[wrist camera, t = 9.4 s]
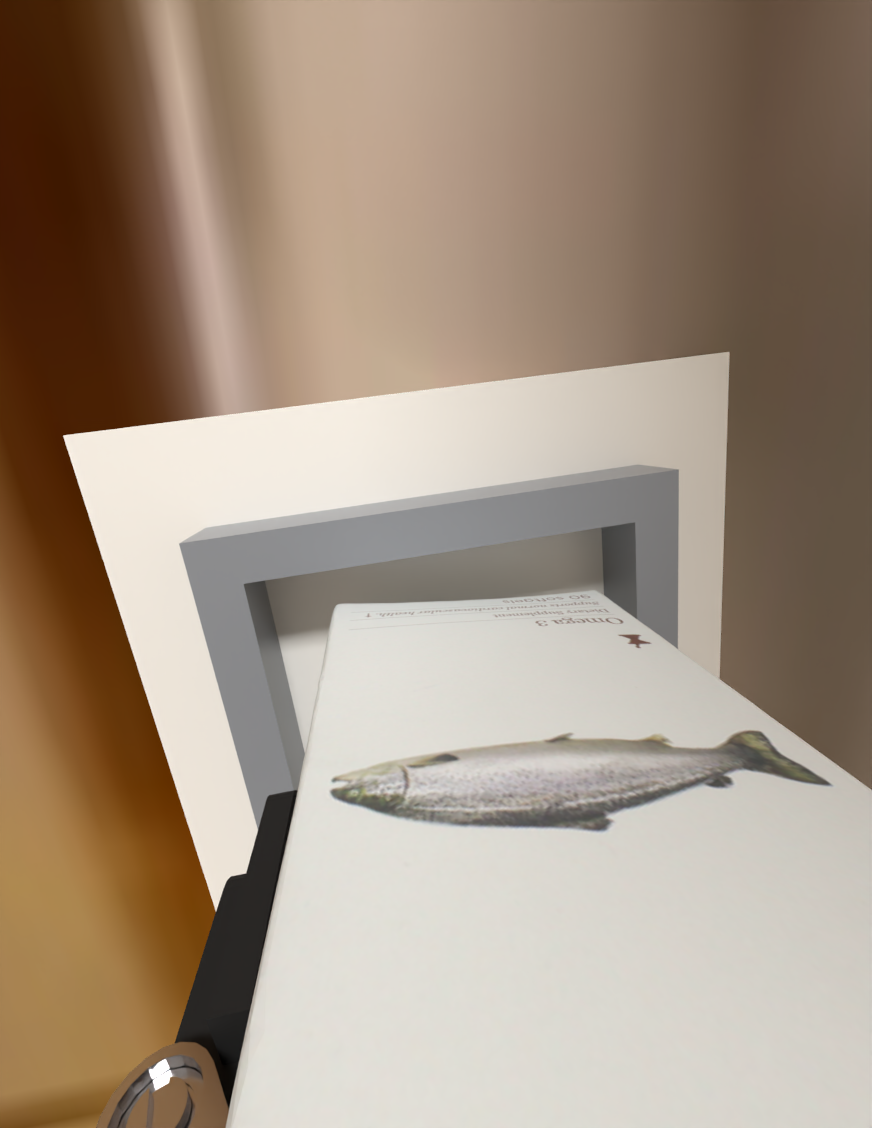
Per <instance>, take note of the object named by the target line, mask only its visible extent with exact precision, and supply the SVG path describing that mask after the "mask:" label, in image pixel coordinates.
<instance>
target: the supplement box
mask: <svg viewBox="0 0 872 1128" xmlns="http://www.w3.org/2000/svg"><path fill="white" fill-rule="evenodd" d="M226 1128H872V790H871V789H870V788H868V787H867V786H865V785H864V784H863V783H861V782H860V781H859V780H857V779H856V778H854V777H853V776H852V775H850V774H849V773H848V772H846V771H845V770H844V769H842V768H841V767H839V766H838V765H837V764H835V763H834V762H833V761H831V760H830V759H828V758H827V757H826V756H824V755H823V754H821V753H820V752H819V751H817V750H816V749H815V748H813V747H812V746H810V745H809V744H808V743H806V742H805V741H804V740H802V739H801V738H800V737H798V736H797V735H796V734H794V733H793V732H791V731H790V730H789V729H787V728H786V727H784V726H783V725H781V724H780V723H779V722H777V721H776V720H774V719H773V718H772V717H770V716H769V715H768V714H766V713H765V712H764V711H762V710H761V709H760V708H758V707H757V706H756V705H754V704H753V703H752V702H750V701H749V700H748V699H746V698H745V697H743V696H742V695H741V694H739V693H738V692H737V691H735V690H734V689H732V688H731V687H730V686H728V685H727V684H726V683H724V682H723V681H721V680H720V679H719V678H717V677H716V676H715V675H713V674H712V673H710V672H709V671H708V670H706V669H705V668H703V667H702V666H701V665H699V664H698V663H697V662H695V661H694V660H692V659H691V658H690V657H688V656H687V655H685V654H684V653H683V652H681V651H680V650H678V649H677V648H676V647H674V646H673V645H672V644H670V643H669V642H668V641H666V640H665V639H664V638H662V637H661V636H660V635H658V634H657V633H656V632H654V631H653V630H651V629H650V628H649V627H647V626H646V625H644V624H643V623H641V622H640V621H639V620H637V619H636V618H634V617H633V616H632V615H630V614H629V613H627V612H626V611H625V610H623V609H622V608H621V607H619V606H618V605H616V604H615V603H614V602H612V601H611V600H610V599H608V598H607V597H606V596H604V595H603V594H601V593H600V592H598V591H595V590H591V591H582V592H573V593H563V594H553V595H542V596H530V597H516V598H503V599H483V600H463V601H435V602H409V603H368V604H338V605H336V607H335V608H334V611H333V615H332V619H331V623H330V627H329V632H328V637H327V643H326V648H325V654H324V659H323V665H322V670H321V675H320V679H319V682H318V691H317V695H316V699H315V704H314V709H313V715H312V721H311V726H310V731H309V736H308V741H307V746H306V751H305V756H304V761H303V765H302V771H301V776H300V781H299V786H298V792H297V797H296V802H295V807H294V811H293V816H292V820H291V825H290V829H289V834H288V838H287V843H286V847H285V852H284V856H283V861H282V865H281V870H280V874H279V879H278V883H277V888H276V893H275V897H274V902H273V907H272V911H271V916H270V920H269V925H268V930H267V934H266V939H265V944H264V948H263V953H262V958H261V962H260V967H259V971H258V976H257V981H256V985H255V990H254V995H253V999H252V1004H251V1008H250V1013H249V1018H248V1022H247V1027H246V1032H245V1036H244V1041H243V1046H242V1050H241V1055H240V1060H239V1064H238V1069H237V1074H236V1078H235V1083H234V1088H233V1092H232V1097H231V1102H230V1108H229V1113H228V1118H227V1123H226Z"/></svg>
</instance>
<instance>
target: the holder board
mask: <svg viewBox="0 0 872 1128" xmlns="http://www.w3.org/2000/svg"><path fill="white" fill-rule="evenodd" d="M729 355H730V352H723V353H715V354H707V355H699V356H691V357H683V358H675V359H667V360H659V361H652V362H644V363H636V364H628V365H620V366H612V367H604V368H596V369H588V370H580V371H572V372H564V373H556V374H548V375H540V376H533V377H525V378H517V379H509V380H501V381H493V382H485V383H477V384H469V385H461V386H453V387H445V388H437V389H429V390H421V391H413V392H406V393H398V394H390V395H382V396H374V397H366V398H358V399H350V400H342V401H334V402H326V403H318V404H310V405H302V406H294V407H287V408H279V409H271V410H263V411H255V412H247V413H239V414H231V415H223V416H215V417H207V418H199V419H191V420H183V421H175V422H168V423H160V424H152V425H144V426H136V427H128V428H120V429H112V430H104V431H96V432H88V433H80V434H72V435H64V436H63V437H64V440H65V443H66V446H67V449H68V452H69V455H70V459H71V462H72V465H73V468H74V471H75V474H76V477H77V480H78V483H79V487H80V490H81V493H82V496H83V499H84V502H85V505H86V508H87V511H88V515H89V518H90V521H91V524H92V527H93V530H94V533H95V536H96V539H97V543H98V546H99V549H100V552H101V555H102V558H103V561H104V564H105V568H106V571H107V574H108V577H109V580H110V583H111V586H112V589H113V592H114V596H115V599H116V602H117V605H118V608H119V611H120V614H121V617H122V620H123V624H124V627H125V630H126V633H127V636H128V639H129V642H130V645H131V648H132V652H133V655H134V658H135V661H136V664H137V667H138V670H139V673H140V676H141V680H142V683H143V686H144V689H145V692H146V695H147V698H148V701H149V704H150V708H151V711H152V714H153V717H154V720H155V723H156V726H157V729H158V732H159V736H160V739H161V742H162V745H163V748H164V751H165V754H166V757H167V760H168V764H169V767H170V770H171V773H172V776H173V779H174V782H175V785H176V788H177V792H178V795H179V798H180V801H181V804H182V807H183V810H184V813H185V816H186V820H187V823H188V826H189V829H190V832H191V835H192V838H193V841H194V844H195V848H196V851H197V854H198V857H199V860H200V863H201V866H202V869H203V872H204V876H205V879H206V882H207V885H208V888H209V891H210V894H211V897H212V900H213V904H214V907H215V910H216V911H217V908H218V904H219V901H220V898H221V895H222V892H223V889H224V886H225V884H226V881H227V880H228V879H229V878H230V877H231V876H236V875H240V874H245V873H246V872H247V868H248V865H249V861H250V857H251V854H252V850H253V846H254V843H255V839H256V836H257V832H258V828H259V825H260V821H261V817H262V814H263V810H264V806H265V803H266V800H267V797H268V796H269V795H272V794H277V793H282V792H288V791H293V790H297V791H298V786H299V781H300V776H301V771H302V765H303V761H304V756H305V751H306V746H307V741H308V736H309V731H310V726H311V721H312V715H313V709H314V704H315V699H316V695H317V691H318V682H319V679H320V675H321V670H322V665H323V659H324V654H325V648H326V643H327V637H328V632H329V627H330V623H331V619H332V615H333V611H334V608H335V607H336V605H338V604H368V603H409V602H435V601H463V600H483V599H503V598H516V597H530V596H542V595H553V594H563V593H573V592H582V591H591V590H595V591H598V592H600V593H601V594H603V595H604V596H606V597H607V598H608V599H610V600H611V601H612V602H614V603H615V604H616V605H618V606H619V607H621V608H622V609H623V610H625V611H626V612H627V613H629V614H630V615H632V616H633V617H634V618H636V619H637V620H639V621H640V622H641V623H643V624H644V625H646V626H647V627H649V628H650V629H651V630H653V631H654V632H656V633H657V634H658V635H660V636H661V637H662V638H664V639H665V640H666V641H668V642H669V643H670V644H672V645H673V646H674V647H676V648H677V649H678V650H680V651H681V652H683V653H684V654H685V655H687V656H688V657H690V658H691V659H692V660H694V661H695V662H697V663H698V664H699V665H701V666H702V667H703V668H705V669H706V670H708V671H709V672H710V673H712V674H713V675H715V676H716V677H717V678H719V679H720V647H721V615H722V582H723V550H724V517H725V485H726V453H727V420H728V388H729Z"/></svg>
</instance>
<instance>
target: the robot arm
mask: <svg viewBox="0 0 872 1128" xmlns="http://www.w3.org/2000/svg"><path fill="white" fill-rule="evenodd" d="M297 792H298V791H297V790H293V791H288V792H282V793H277V794H272V795H269V796H268V797H267V800H266V803H265V806H264V810H263V814H262V817H261V821H260V825H259V828H258V832H257V836H256V839H255V843H254V846H253V850H252V854H251V857H250V861H249V865H248V868H247V872H246V873H245V874H240V875H236V876H231V877H230V878H229V879H228V880H227V881H226V884H225V886H224V889H223V892H222V895H221V898H220V901H219V904H218V908H217V911H216V914H215V917H214V920H213V923H212V927H211V930H210V933H209V936H208V939H207V943H206V946H205V949H204V952H203V955H202V958H201V962H200V965H199V968H198V971H197V974H196V977H195V981H194V984H193V987H192V990H191V993H190V997H189V1000H188V1003H187V1006H186V1009H185V1012H184V1016H183V1019H182V1022H181V1025H180V1028H179V1031H178V1035H177V1038H176V1041H175V1044H172V1045H169V1046H166V1047H163V1048H162V1049H160V1050H158V1051H157V1052H155V1053H154V1054H152V1055H150V1056H149V1057H147V1058H146V1059H145V1060H143V1061H142V1062H141V1063H140V1064H139V1065H138V1066H137V1067H136V1068H135V1069H134V1070H132V1071H131V1072H130V1073H129V1074H128V1075H127V1077H126V1078H125V1079H124V1080H123V1082H122V1083H121V1084H120V1085H119V1087H118V1088H117V1089H116V1091H115V1092H114V1093H113V1094H112V1096H111V1098H110V1100H109V1101H108V1103H107V1105H106V1107H105V1109H104V1110H103V1112H102V1114H101V1116H100V1118H99V1121H98V1124H97V1127H96V1128H226V1123H227V1118H228V1113H229V1108H230V1102H231V1097H232V1092H233V1088H234V1083H235V1078H236V1074H237V1069H238V1064H239V1060H240V1055H241V1050H242V1046H243V1041H244V1036H245V1032H246V1027H247V1022H248V1018H249V1013H250V1008H251V1004H252V999H253V995H254V990H255V985H256V981H257V976H258V971H259V967H260V962H261V958H262V953H263V948H264V944H265V939H266V934H267V930H268V925H269V920H270V916H271V911H272V907H273V902H274V897H275V893H276V888H277V883H278V879H279V874H280V870H281V865H282V861H283V856H284V852H285V847H286V843H287V838H288V834H289V829H290V825H291V820H292V816H293V811H294V807H295V802H296V797H297Z"/></svg>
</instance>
